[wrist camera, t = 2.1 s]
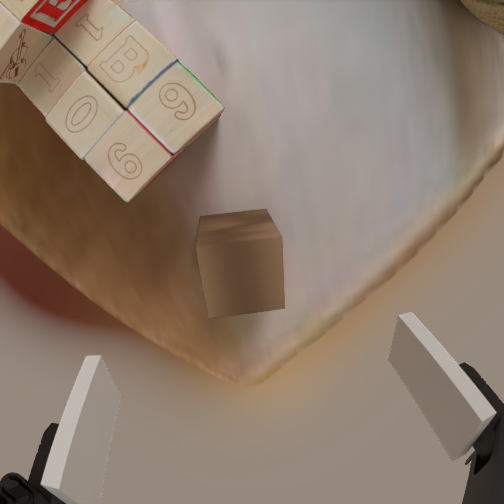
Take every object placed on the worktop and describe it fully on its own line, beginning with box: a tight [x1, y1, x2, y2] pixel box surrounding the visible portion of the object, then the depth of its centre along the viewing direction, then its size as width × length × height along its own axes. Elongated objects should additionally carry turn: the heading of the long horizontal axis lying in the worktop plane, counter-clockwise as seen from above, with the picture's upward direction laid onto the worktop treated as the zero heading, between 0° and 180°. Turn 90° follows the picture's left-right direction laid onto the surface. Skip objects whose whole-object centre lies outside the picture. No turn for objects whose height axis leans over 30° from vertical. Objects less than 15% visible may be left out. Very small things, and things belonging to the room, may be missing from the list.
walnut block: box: [196, 209, 285, 318], centre depth 21 cm, size 5×5×6 cm
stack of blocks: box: [0, 0, 224, 203], centre depth 11 cm, size 21×6×12 cm, turn 41°
